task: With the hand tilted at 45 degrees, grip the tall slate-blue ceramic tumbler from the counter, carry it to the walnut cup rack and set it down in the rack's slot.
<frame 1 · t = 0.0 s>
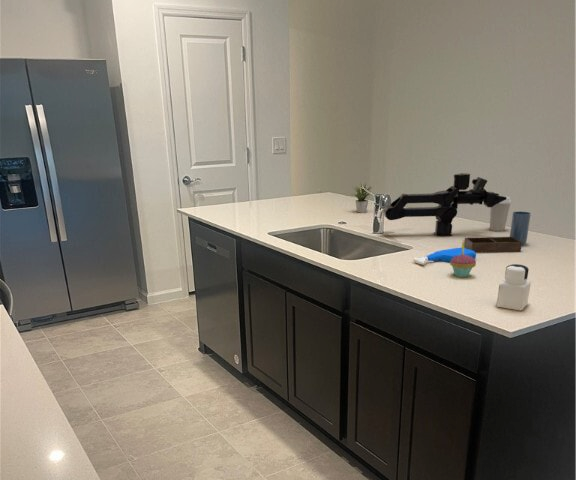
hand: (502, 196, 244), 17 cm above the countertop, tool horizontal, fingers open, 9 cm apart
cupcake: (461, 275, 191), on the countertop
tumbler: (517, 243, 231), on the countertop
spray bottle: (443, 261, 209), on the countertop
rack: (491, 249, 224), on the countertop
coffee cup: (497, 230, 258), on the countertop
house plant: (362, 212, 308), on the countertop
medicine bottle: (511, 306, 161), on the countertop
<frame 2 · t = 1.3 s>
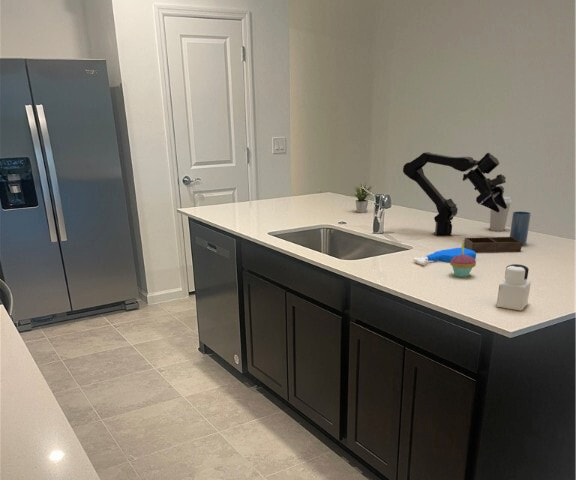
hand: (502, 210, 231), 13 cm above the countertop, tool tilted 45°, fingers open, 9 cm apart
nothing on the countertop moved.
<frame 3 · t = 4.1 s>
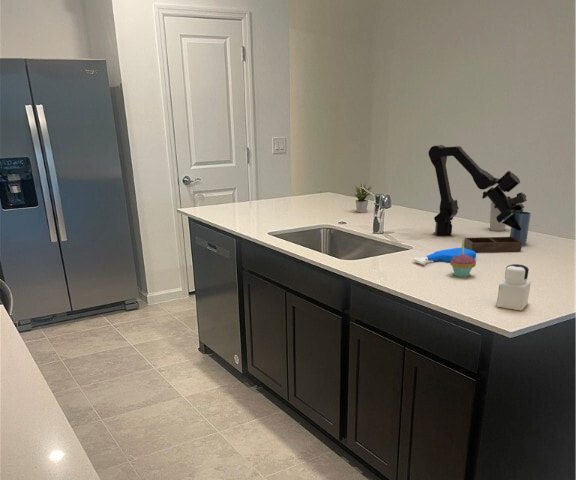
hand: (523, 228, 228), 7 cm above the countertop, tool tilted 45°, fingers closed on tumbler, 7 cm apart
tumbler: (517, 243, 231), on the countertop, touching gripper
everything else where it was.
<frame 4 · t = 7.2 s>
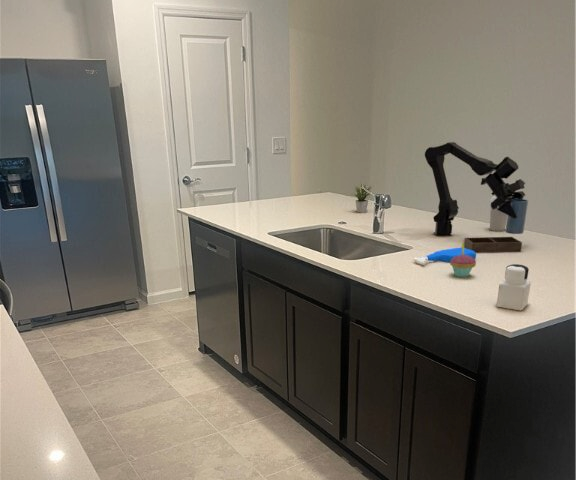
hand: (519, 216, 222), 12 cm above the countertop, tool tilted 45°, fingers closed on tumbler, 7 cm apart
tumbler: (514, 232, 226), point 6 cm above the countertop, touching gripper
everything else where it was.
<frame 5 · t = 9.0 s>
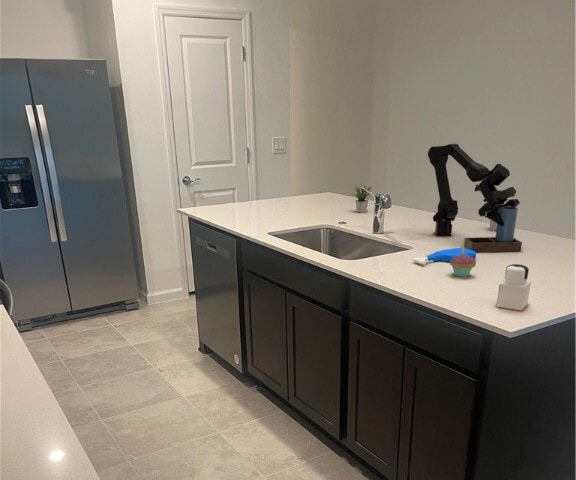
hand: (509, 224, 219), 10 cm above the countertop, tool tilted 45°, fingers closed on tumbler, 7 cm apart
tumbler: (504, 240, 223), point 4 cm above the countertop, touching gripper
everything else where it was.
when the fingers open (8 cm above the countertop, at t = 10.4 s): tumbler stays where it is, resting on rack.
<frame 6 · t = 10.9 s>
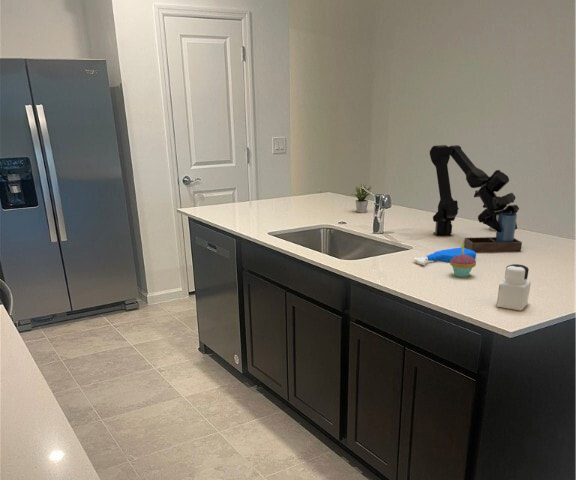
hand: (508, 230, 220), 8 cm above the countertop, tool tilted 45°, fingers open, 9 cm apart
tumbler: (503, 246, 223), point 1 cm above the countertop, touching rack
everything else where it was.
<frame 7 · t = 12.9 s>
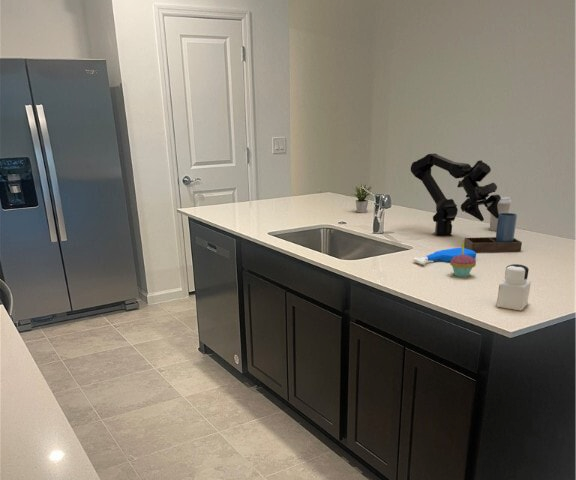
hand: (490, 219, 226), 11 cm above the countertop, tool tilted 45°, fingers open, 9 cm apart
nothing on the countertop moved.
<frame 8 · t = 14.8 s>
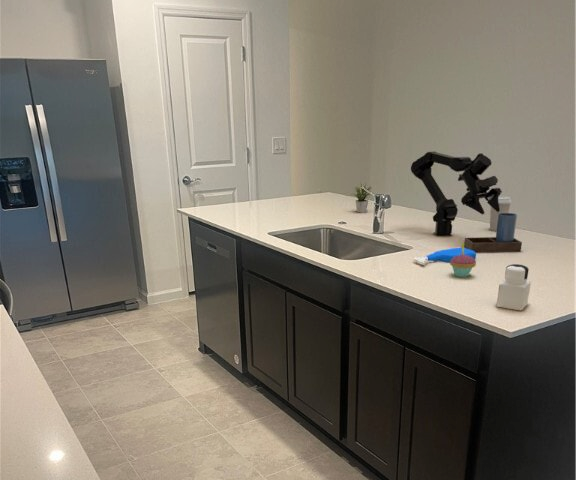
hand: (491, 212, 225), 14 cm above the countertop, tool tilted 45°, fingers open, 9 cm apart
nothing on the countertop moved.
at the end: tumbler 0.0 cm from the target spot in the rack, point 1.0 cm above the rack's base; tumbler tilted 0°; the gripper is holding nothing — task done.
